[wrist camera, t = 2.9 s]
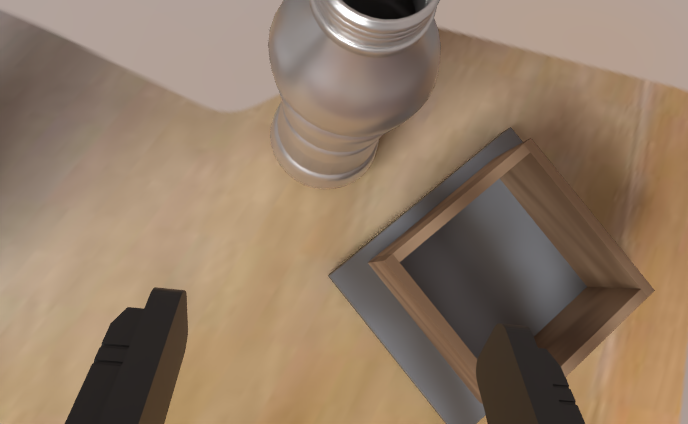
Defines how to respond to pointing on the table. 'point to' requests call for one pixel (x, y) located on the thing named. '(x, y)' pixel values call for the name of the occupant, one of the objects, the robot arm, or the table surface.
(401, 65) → the metal bottle
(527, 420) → the robot arm
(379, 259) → the bottle holder
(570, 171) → the table surface
